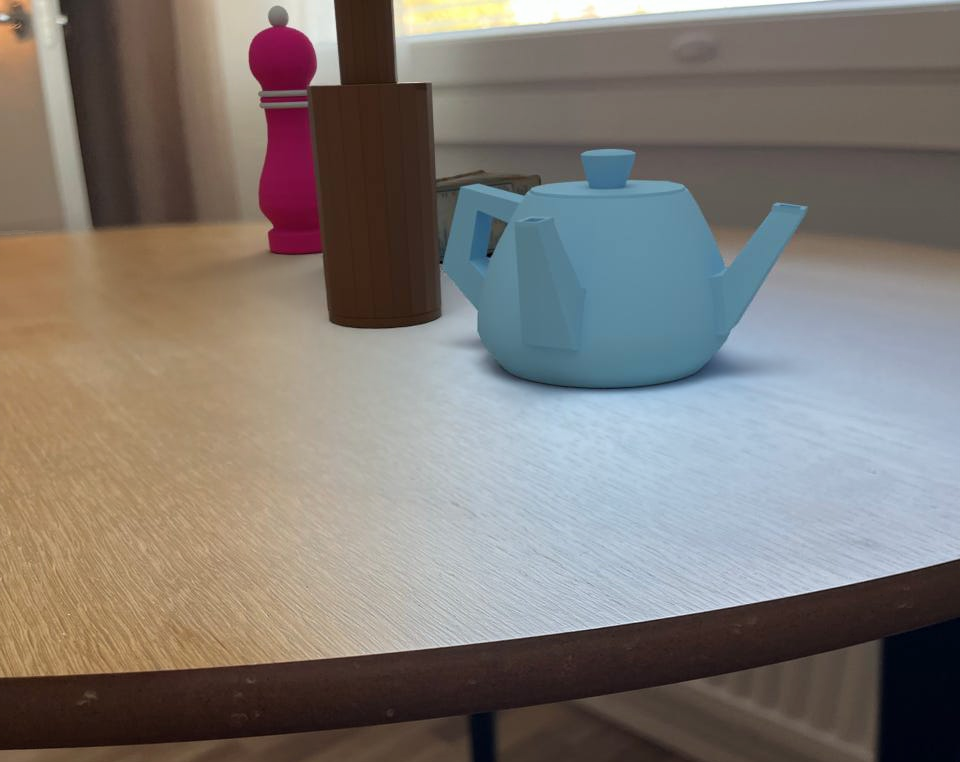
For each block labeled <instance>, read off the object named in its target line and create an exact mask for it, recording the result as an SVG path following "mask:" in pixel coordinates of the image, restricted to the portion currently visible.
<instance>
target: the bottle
mask: <svg viewBox="0 0 960 762" xmlns="http://www.w3.org/2000/svg"><path fill="white" fill-rule="evenodd" d="M394 5H395V4H394V0H333V7H334V8H333V10H334V21H335V32H336V45H337V55H338V56H337V57H338V58H337V59H338V66H339V67H338V69H339V70H338V71H339V82H340V83H339V84H314V85H310V86H306V88H307V99H308V109H309V119H310V130H311V140H312V151H313V161H314V171H315V182H316V192H317V203H318V213H319V223H320V234H321V244H322V252H321V253H322V254H321V255H322V263H323V275H324V284H325V286H324V287H325V293H326V306H327V311H328V318H329V321H330V322H332V323H333V324H336V325H340V326H343V327H350V328H362V329H383V328H384V329H385V328H387V329H388V328H400V327H409V326H414V325H420V324H424V323H429V322H432V321H434V320H437V319H438V318H440V317H441V315H442V286H441V285H442V284H441V263H440V262H441V261H440V259H439V237H438V214H437V191H436V179H437V171H436V169H437V168H436V152H435V151H436V149H435V125H434V124H435V122H434V101H433V83H432V81H406V82H404V81H403V82H402V81H401V82H399V77H398V61H397V60H398V59H397V41H396V25H395V8H394V7H395V6H394Z"/></svg>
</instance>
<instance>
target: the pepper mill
mask: <svg viewBox="0 0 960 762" xmlns="http://www.w3.org/2000/svg"><path fill="white" fill-rule="evenodd" d="M267 20H268V23H269V24H270V25H271V27H268V28H264V29H263V30H261V31H259V32H258V33H256V35H254V36H253V38H252V40H251V42H250V44H249V48H248V67H249V71H250V73H251V74H252V76H253V78H254V79H255V80H256V81H257V82H258V84H259V85H260V88H261V90H259V91H258V93H257V96H258V97H259V101H260V103H259V105H258V106H259V108H261V109H264V110H263V111H264V116H265V121H266V130H267V133H266V134H267V135H266V136H267V143H266V151H265V152H266V153H265V158H264V162H263V166H262V170H261V173H260V177H259V181H258V182H259V183H258V192H257V193H258V206H259V209H260V212H261V213H262V214H263V215H264V217H265V218H266V219H267V220H268V221H269V222H270V224H271V225H272V228H271V229H269V230H268V232H267V238H268V246H269V251H270V252H272V253H274V254H282V255H303V254H306V255H307V254H315V253H322V244H321V234H320V223H319V213H318V203H317V192H316V182H315V171H314V161H313V151H312V140H311V130H310V119H309V109H308V99H307V88H306V86H311V82H312V80H313V79H314V77H315V76H316V73H317V70H318V59H317V52H316V50H315V47H314V45H313V43H312V41H311V40H310V38H309V37H308V36H307V35H306V33H304V32H302V31H300V30H298V29H296V28H294V27H290V26H288V24H289V20H290V16H289V13H288V12H287V9H286V8H285V7H283V6H281V5H273V6H272V7H271V8H270V9H269V11H268V13H267Z"/></svg>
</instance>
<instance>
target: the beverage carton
mask: <svg viewBox="0 0 960 762" xmlns="http://www.w3.org/2000/svg"><path fill="white" fill-rule="evenodd" d="M474 184H482V185H485V186H489V187H493V188H497V189H500V190H504V191H508V192H512V193H515V194H519V195H523V196H525V195H526V193H527V192H528V191H530V190H531V188H533V187H536V186H540V185H542V178H541V176H540V175H539V174H524V173H514V172H498V171H497V172H489V171H485V170H483V169H479V170H475V171H470V172H465V173H459V174H455V175H453V176H444V177H443V176H442V177H439V178H436V191H437V214H438V237H439V259H440V262H443V260H444V256H445V252H446V247H447V243H448V239H449V234H450V230H451V226H452V222H453V217H454V213H455V209H456V204H457V200H458V196H459V191H460V187H463V186H468V185H474ZM507 225H508V223H507V222H505V221H502V220H500V219H498V218H495V217H493V219H492V225H491V231H490V237H489V243H488V249H487V255H491V254H493V252H494V250H495V248H496V246H497V244H498V242H499V240H500V238H501V236H502V234H503V232H504V230H505V228H506V227H507Z"/></svg>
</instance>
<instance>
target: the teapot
mask: <svg viewBox="0 0 960 762" xmlns="http://www.w3.org/2000/svg"><path fill="white" fill-rule="evenodd" d="M636 153H637V152H634V151H633V150H630V149H619V148H603V149H593V150H586V151H584V152H582V153H581V154H580V160H581V165H582V168H583V171H584V174H585V178H586V180H579V181H565V182H563V181H562V182H554V183H547V184H541V185H540V186H536V187H533V188H531V190H530V191H528V192H527V193H526V195H525V196H523V195H519V194H515V193H512V192H508V191H504V190H500V189H497V188H493V187H489V186H485V185H482V184H474V185H468V186H463V187H460V191H459V196H458V200H457V204H456V209H455V213H454V217H453V222H452V226H451V230H450V234H449V239H448V243H447V247H446V252H445V256H444V260H443V261H442V265H441V269H442V270H443V272H444V273H445V274H446V275H447V277H448V278H449V279H450V280H451V281H452V283H453V284H454V285H455V286H456V287H457V289H458V290H459V291H460V292H461V293H462V294H463V295H464V297H465V298H466V299H467V300H468V302H470V304H471V305H472V306H473V307H474V308H475V309H476V311H477V316H476V317H477V318H476V321H477V322H476V332H477V334H478V336H479V340H480V341H481V344H482V345H483V346H484V347H485V349H486V350H487V351H488V352H489V354H490V355H491V356H492V357H493V359H495V361H496V362H497V363H498V364H499V365H500V366H501V368H503V370H505V371H506V372H508V373H509V374H511V375H513V376H515V377H518V378H521V379H524V380H528V381H530V382H531V381H532V382H536V383H541V384H545V385H554V386H560V387H561V386H562V387H573V388H591V389H593V388H594V389H595V388H597V389H598V388H600V389H602V388H603V389H606V388H607V389H612V388H613V389H614V388H631V387H645V386H651V385H658V384H665V383H668V382H673V381H677V380H681V379H684V378H688V377H690V376H691V375H694V374H696V373H697V372H699V371H701V369H703V367H704V366H705V365H706V364H707V363H708V362H709V361H710V360H711V359H712V358H713V357H714V356H715V355H716V354H717V353H718V351H720V349H721V348H722V347H723V345H724V344H725V343H726V342H727V340H728V338H729V336H730V334H731V332H732V330H733V329H734V328H735V327H736V326H737V324H739V322H741V319H742V318H743V316H744V315H745V313H746V311H748V308H749V307H750V305H751V304H752V302H753V300H754V299H755V297H756V295H757V294H758V292H759V290H760V289H761V287H762V286H763V284H764V282H765V281H766V279H767V278H768V276H769V274H770V272H771V271H772V269H773V267H774V266H775V264H776V263H777V261H778V259H779V258H780V257H781V255H782V253H783V251H784V250H785V248H786V247H787V245H788V244H789V242H790V240H791V239H792V237H793V235H794V234H795V232H796V231H797V229H798V227H799V225H800V224H801V223H802V221H803V219H804V218H805V216H806V214H807V213H808V208H809V206H807V205H799V204H791V203H785V202H784V203H783V202H775V203H773V204H772V206H771V210H770V212H769V214H768V215H767V216H766V217H765V219H764V220H763V221H762V223H760V225H759V226H758V228H757V229H756V230H755V232H754V233H753V234H752V235H751V237H750V238H749V239H748V241H747V242H746V243H745V245H744V246H743V247H742V249H741V250H740V252H739V253H738V254H737V255H736V257H735V258H734V259H733V261H732V262H730V265H729V266H728V267H726V265H725V261H724V259H723V258H724V257H723V255H722V254H721V250H720V248H719V245H718V243H717V241H716V238H715V236H714V234H713V232H712V230H711V228H710V226H709V224H708V222H707V220H706V218H705V216H704V214H703V212H702V210H701V208H700V206H699V204H698V203H697V201H696V200H695V198H694V196H693V195H692V193H691V192H690V190H689V188H687V187H686V186H685V185H684V184H682V183H678V182H673V181H671V180H646V179H645V180H643V179H641V180H637V179H636V180H635V179H629V176H630V173H631V170H632V168H633V165H634V163H635V158H636ZM493 217H495V218H498V219H500V220H502V221H505V222H507V223H508V225H507V227H506V228H505V230H504V232H503V234H502V236H501V238H500V240H499V242H498V244H497V246H496V248H495V250H494V252H493V253H492V255H491V257H490V258H489V257H488V256H487V255H488V254H487V249H488V243H489V237H490V231H491V225H492V219H493Z"/></svg>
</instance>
